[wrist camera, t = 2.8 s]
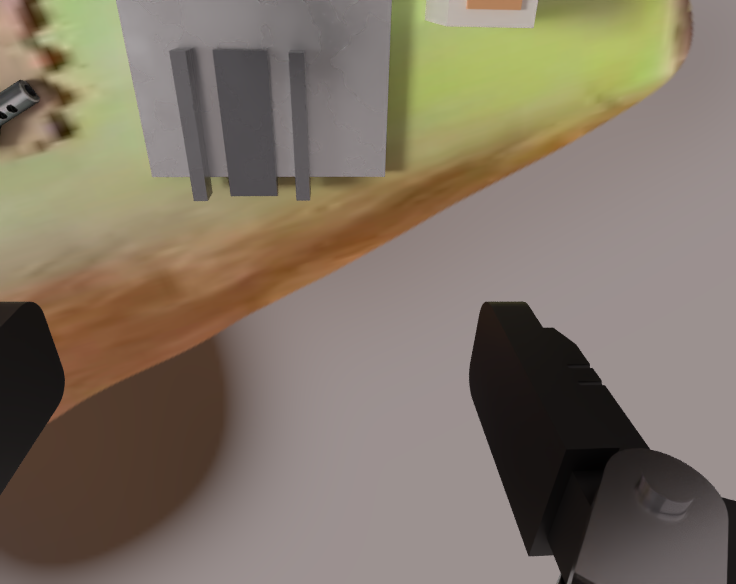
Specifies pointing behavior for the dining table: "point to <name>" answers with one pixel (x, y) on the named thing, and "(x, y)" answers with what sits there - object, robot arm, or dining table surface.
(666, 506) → the robot arm
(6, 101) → the pistol
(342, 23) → the rail panel
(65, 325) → the dining table surface
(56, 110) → the dining table surface
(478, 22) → the block
